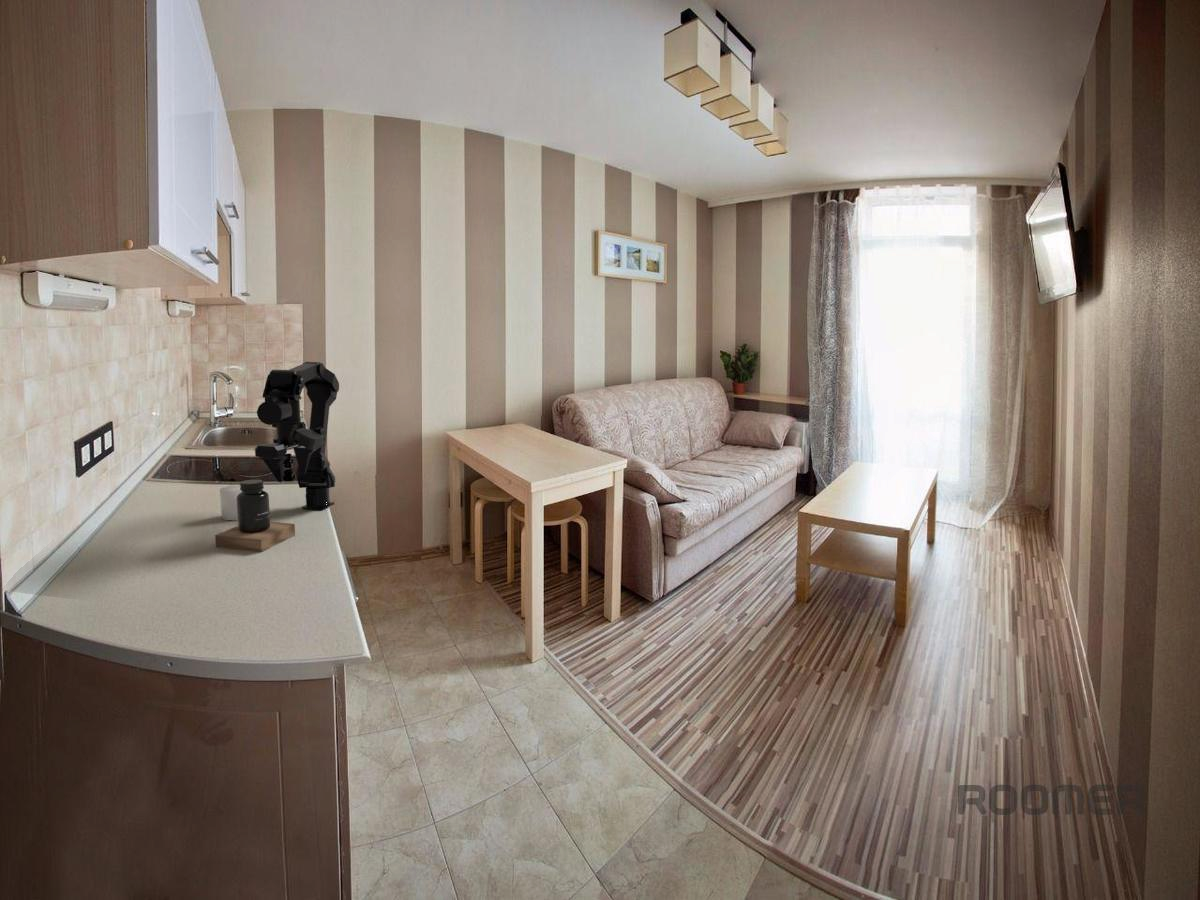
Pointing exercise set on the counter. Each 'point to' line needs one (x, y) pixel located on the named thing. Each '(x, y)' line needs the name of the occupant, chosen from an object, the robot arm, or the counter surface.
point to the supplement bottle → (253, 507)
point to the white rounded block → (229, 502)
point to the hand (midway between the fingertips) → (292, 477)
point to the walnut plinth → (255, 537)
